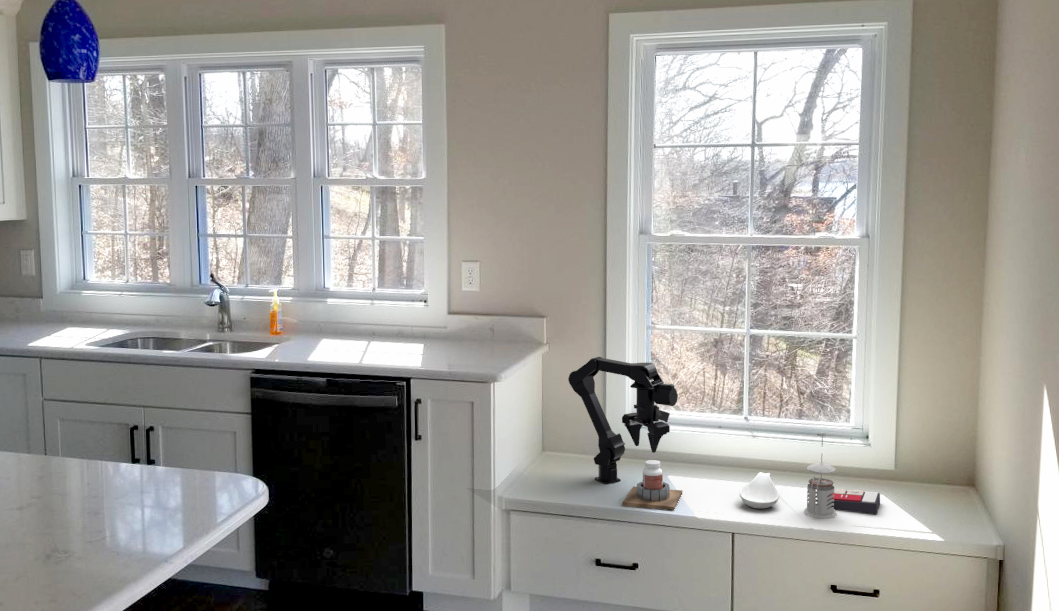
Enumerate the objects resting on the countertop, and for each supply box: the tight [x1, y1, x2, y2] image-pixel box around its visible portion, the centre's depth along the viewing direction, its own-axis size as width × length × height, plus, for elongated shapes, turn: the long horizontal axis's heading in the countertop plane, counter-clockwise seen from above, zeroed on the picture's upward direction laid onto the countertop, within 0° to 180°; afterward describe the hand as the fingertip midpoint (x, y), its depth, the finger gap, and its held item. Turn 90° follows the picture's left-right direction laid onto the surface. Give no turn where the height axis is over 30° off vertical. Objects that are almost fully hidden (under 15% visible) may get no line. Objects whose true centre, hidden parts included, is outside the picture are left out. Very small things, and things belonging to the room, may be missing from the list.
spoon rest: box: [739, 471, 780, 510], centre depth 305 cm, size 24×12×7 cm, turn 161°
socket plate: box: [622, 485, 683, 511], centre depth 307 cm, size 16×16×1 cm
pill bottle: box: [642, 459, 664, 489], centre depth 306 cm, size 6×6×11 cm
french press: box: [803, 431, 838, 519], centre depth 291 cm, size 10×12×25 cm
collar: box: [636, 480, 671, 502], centre depth 306 cm, size 10×10×4 cm
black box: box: [831, 488, 881, 516], centre depth 299 cm, size 11×4×15 cm
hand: (645, 449), depth 317 cm, fingers open, 9 cm apart
